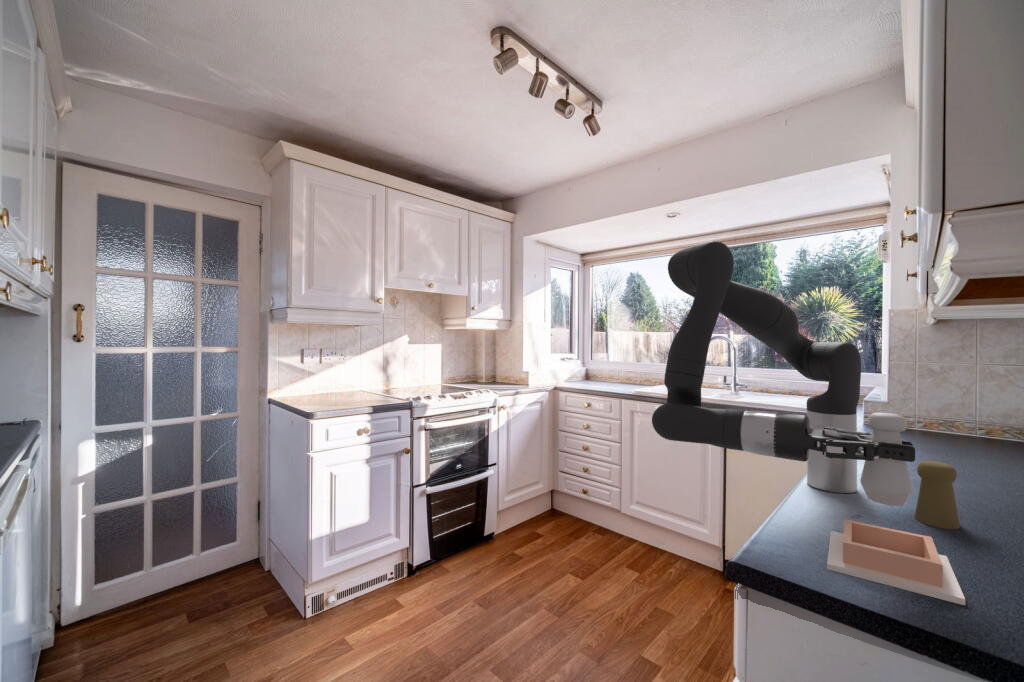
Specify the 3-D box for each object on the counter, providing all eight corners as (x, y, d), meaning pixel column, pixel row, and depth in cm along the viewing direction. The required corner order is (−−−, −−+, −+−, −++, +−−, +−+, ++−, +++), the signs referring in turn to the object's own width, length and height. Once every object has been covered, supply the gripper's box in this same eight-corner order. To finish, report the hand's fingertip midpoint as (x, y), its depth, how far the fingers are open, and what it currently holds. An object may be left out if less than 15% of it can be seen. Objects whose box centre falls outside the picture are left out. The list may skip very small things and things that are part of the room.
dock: (831, 535, 73) (831, 513, 73) (946, 561, 65) (946, 536, 65) (827, 569, 63) (827, 542, 63) (965, 605, 54) (965, 575, 54)
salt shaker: (906, 511, 60) (907, 418, 60) (855, 499, 64) (856, 412, 64) (916, 502, 63) (917, 414, 63) (867, 491, 68) (868, 409, 68)
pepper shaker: (968, 526, 77) (968, 465, 77) (947, 531, 75) (946, 468, 75) (927, 513, 83) (927, 456, 83) (906, 517, 81) (906, 459, 81)
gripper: (768, 417, 67) (919, 433, 56) (780, 407, 78) (909, 419, 67) (767, 465, 67) (919, 490, 56) (780, 448, 78) (908, 466, 67)
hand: (912, 451), depth 62 cm, fingers closed on salt shaker, 3 cm apart
